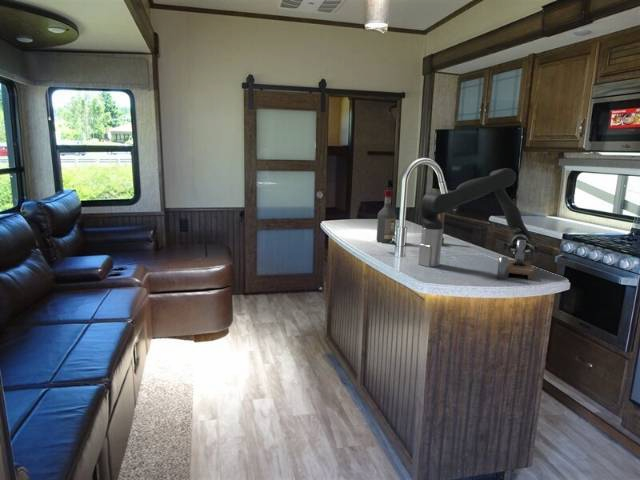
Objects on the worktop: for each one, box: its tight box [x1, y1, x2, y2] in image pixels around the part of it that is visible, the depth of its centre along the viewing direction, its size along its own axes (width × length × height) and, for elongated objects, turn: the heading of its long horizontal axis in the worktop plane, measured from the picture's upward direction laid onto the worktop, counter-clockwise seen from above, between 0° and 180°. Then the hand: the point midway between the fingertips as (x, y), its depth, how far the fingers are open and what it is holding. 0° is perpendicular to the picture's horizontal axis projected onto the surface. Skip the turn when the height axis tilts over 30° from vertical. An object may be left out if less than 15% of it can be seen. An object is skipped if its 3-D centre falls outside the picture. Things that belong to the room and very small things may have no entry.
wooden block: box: [437, 212, 446, 245], centre depth 258 cm, size 4×11×18 cm, turn 113°
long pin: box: [513, 239, 526, 275], centre depth 196 cm, size 4×4×15 cm
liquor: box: [376, 189, 397, 244], centre depth 258 cm, size 9×9×30 cm
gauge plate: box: [506, 259, 533, 281], centre depth 197 cm, size 18×10×4 cm, turn 157°
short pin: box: [496, 256, 509, 281], centre depth 187 cm, size 4×4×9 cm
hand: (520, 249), depth 193 cm, fingers open, 8 cm apart
